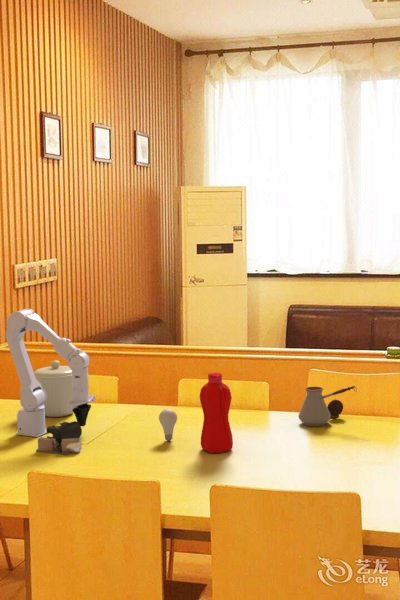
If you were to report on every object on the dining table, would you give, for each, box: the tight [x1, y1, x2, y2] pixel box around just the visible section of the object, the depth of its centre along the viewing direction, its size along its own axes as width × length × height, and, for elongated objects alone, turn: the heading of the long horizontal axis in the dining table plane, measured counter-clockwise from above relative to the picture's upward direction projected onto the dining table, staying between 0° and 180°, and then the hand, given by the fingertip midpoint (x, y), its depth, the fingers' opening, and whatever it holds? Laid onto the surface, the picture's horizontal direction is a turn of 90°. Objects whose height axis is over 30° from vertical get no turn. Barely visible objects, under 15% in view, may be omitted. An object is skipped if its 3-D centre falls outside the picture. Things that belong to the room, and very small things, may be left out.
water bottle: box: [199, 372, 234, 454], centre depth 256 cm, size 9×11×25 cm
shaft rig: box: [35, 436, 83, 456], centre depth 261 cm, size 14×6×4 cm, turn 64°
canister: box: [33, 359, 74, 418], centre depth 309 cm, size 18×18×21 cm
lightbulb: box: [158, 408, 178, 442], centre depth 269 cm, size 6×6×11 cm
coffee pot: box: [297, 385, 358, 427], centre depth 283 cm, size 21×12×15 cm, turn 59°
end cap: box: [46, 420, 83, 448], centre depth 270 cm, size 10×7×7 cm
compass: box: [327, 398, 344, 419], centre depth 294 cm, size 8×8×7 cm
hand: (81, 425), depth 279 cm, fingers closed
